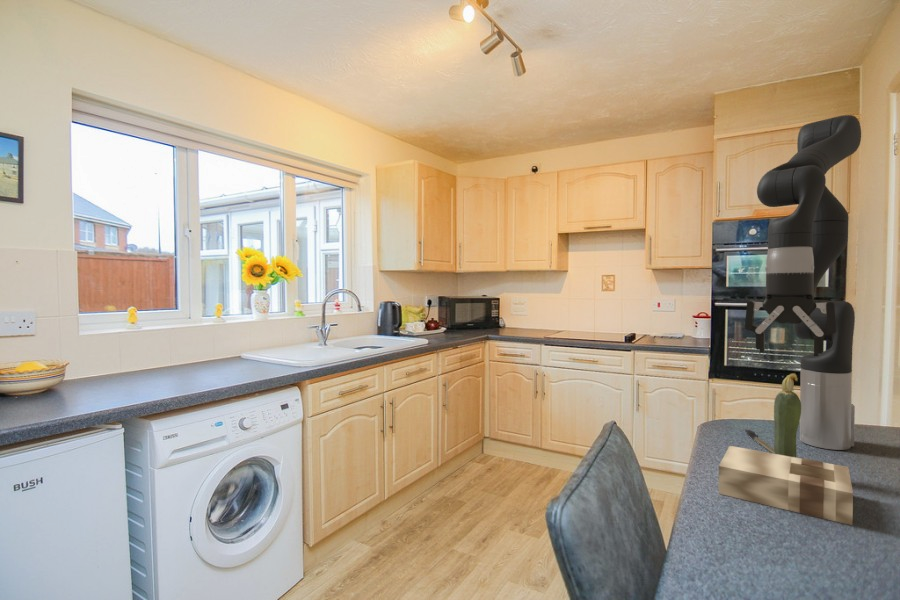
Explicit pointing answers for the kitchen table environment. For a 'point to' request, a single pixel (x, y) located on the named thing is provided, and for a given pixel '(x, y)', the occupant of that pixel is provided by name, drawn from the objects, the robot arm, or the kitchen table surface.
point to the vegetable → (786, 418)
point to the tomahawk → (760, 441)
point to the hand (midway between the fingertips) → (788, 354)
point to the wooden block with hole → (788, 483)
